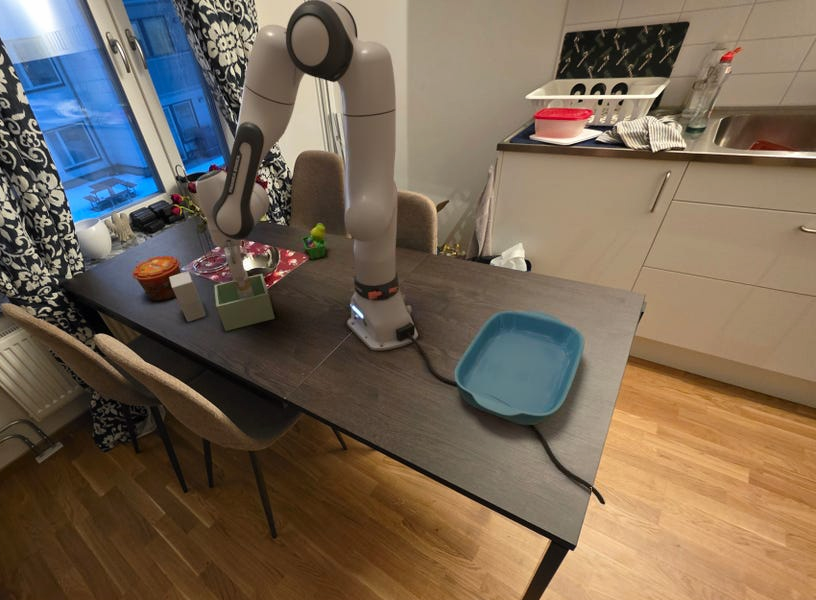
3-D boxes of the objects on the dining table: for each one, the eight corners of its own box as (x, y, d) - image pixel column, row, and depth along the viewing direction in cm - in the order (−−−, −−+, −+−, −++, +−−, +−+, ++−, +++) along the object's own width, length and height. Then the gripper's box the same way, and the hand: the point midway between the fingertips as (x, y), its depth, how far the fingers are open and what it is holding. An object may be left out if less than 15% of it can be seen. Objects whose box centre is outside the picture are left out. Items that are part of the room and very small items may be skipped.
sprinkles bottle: (253, 304, 127) (242, 267, 118) (260, 309, 124) (249, 272, 115) (241, 310, 125) (229, 273, 116) (247, 316, 122) (235, 278, 113)
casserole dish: (545, 454, 75) (554, 431, 71) (437, 410, 86) (439, 388, 82) (584, 346, 96) (594, 323, 92) (494, 322, 107) (498, 301, 103)
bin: (274, 318, 121) (268, 293, 115) (225, 331, 119) (216, 306, 113) (268, 297, 131) (262, 273, 125) (222, 308, 129) (214, 285, 123)
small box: (183, 310, 131) (168, 276, 122) (202, 304, 132) (188, 270, 124) (187, 322, 125) (171, 287, 116) (206, 316, 126) (192, 281, 118)
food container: (135, 303, 138) (121, 276, 131) (160, 280, 150) (148, 254, 142) (174, 304, 134) (161, 277, 127) (196, 281, 146) (186, 254, 139)
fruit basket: (303, 249, 156) (298, 222, 149) (324, 245, 157) (321, 217, 150) (308, 261, 148) (303, 233, 140) (331, 256, 149) (327, 228, 141)
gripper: (241, 246, 100) (255, 292, 109) (235, 219, 116) (247, 261, 125) (217, 251, 100) (233, 297, 109) (214, 224, 115) (228, 266, 124)
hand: (240, 278), depth 117 cm, fingers open, 8 cm apart
